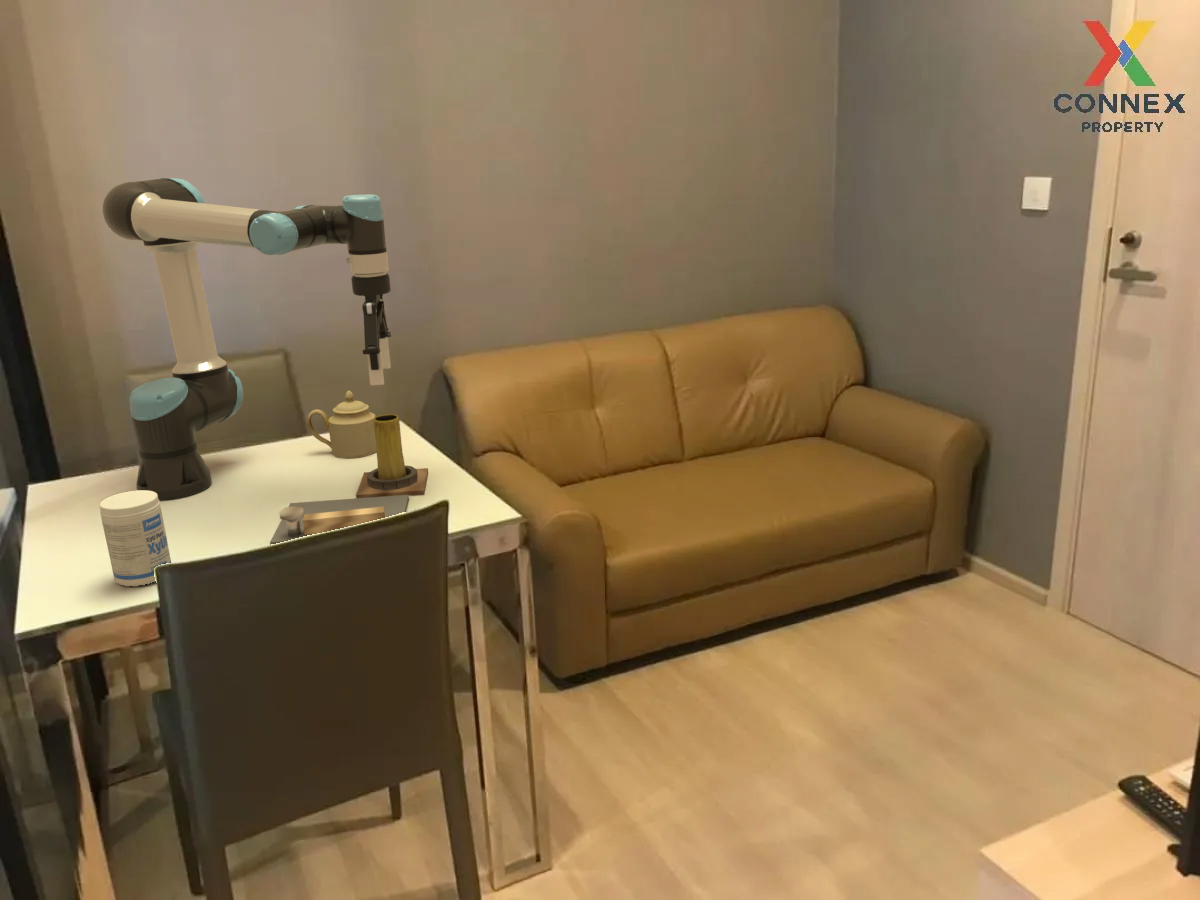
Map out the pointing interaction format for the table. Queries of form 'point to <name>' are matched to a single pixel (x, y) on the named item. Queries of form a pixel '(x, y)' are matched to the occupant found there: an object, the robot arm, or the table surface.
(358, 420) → the sugar bowl
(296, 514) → the folding leg
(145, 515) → the supplement tub
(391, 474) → the vase
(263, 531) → the table surface
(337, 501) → the board
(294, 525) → the pivot post
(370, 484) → the socket block
